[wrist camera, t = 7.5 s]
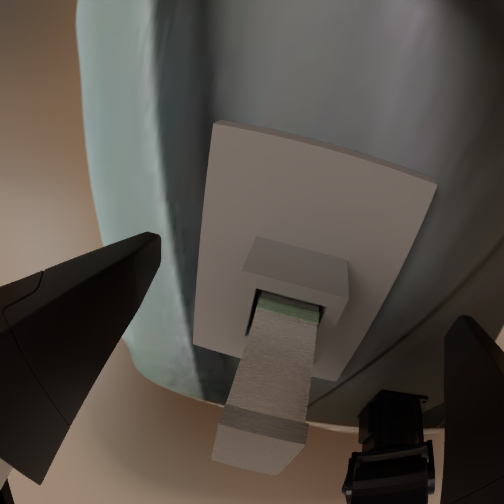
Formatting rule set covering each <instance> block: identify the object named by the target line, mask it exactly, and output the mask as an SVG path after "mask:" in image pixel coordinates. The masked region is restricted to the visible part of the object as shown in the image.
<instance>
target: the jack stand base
mask: <svg viewBox="0 0 504 504" xmlns="http://www.w3.org/2000/svg"><path fill="white" fill-rule="evenodd" d="M436 188H437V184H436V182H435V181H434V180H433V179H432V178H431V177H430V176H427V175H424V174H422V173H419V172H416V171H413V170H411V169H408V168H405V167H402V166H399V165H396V164H393V163H391V162H388V161H385V160H381V159H378V158H375V157H372V156H369V155H366V154H363V153H359V152H356V151H353V150H349V149H346V148H342V147H339V146H335V145H332V144H328V143H324V142H321V141H317V140H313V139H309V138H305V137H301V136H297V135H293V134H289V133H284V132H280V131H276V130H271V129H267V128H262V127H257V126H252V125H247V124H242V123H237V122H231V121H226V120H219V121H217V122H215V123H213V130H212V138H211V146H210V154H209V162H208V170H207V179H206V188H205V197H204V206H203V216H202V226H201V237H200V248H199V260H198V272H197V286H196V300H195V315H194V332H193V344H195V345H198V346H201V347H204V348H208V349H211V350H214V351H217V352H221V353H224V354H227V355H231V356H234V357H238V358H241V357H242V354H243V351H244V348H245V345H246V342H247V339H248V335H249V332H250V329H251V326H252V323H253V319H254V315H255V311H256V307H257V304H258V301H259V298H260V296H261V294H262V291H263V292H267V293H271V294H274V295H278V296H282V297H285V298H289V299H293V300H297V301H301V302H305V303H308V304H312V305H316V306H319V322H318V325H317V331H316V341H315V350H314V359H313V367H312V375H311V376H312V377H316V378H321V379H326V380H330V381H335V382H336V381H337V379H338V378H339V376H340V375H341V373H342V372H343V370H344V369H345V367H346V365H347V364H348V362H349V361H350V359H351V358H352V356H353V354H354V353H355V351H356V349H357V348H358V346H359V344H360V343H361V341H362V339H363V338H364V336H365V334H366V333H367V331H368V329H369V327H370V326H371V324H372V322H373V320H374V319H375V317H376V315H377V313H378V312H379V310H380V308H381V306H382V304H383V302H384V301H385V299H386V297H387V295H388V293H389V291H390V289H391V287H392V285H393V283H394V281H395V279H396V278H397V276H398V274H399V272H400V270H401V267H402V265H403V263H404V261H405V259H406V257H407V255H408V253H409V251H410V249H411V247H412V244H413V242H414V240H415V238H416V236H417V233H418V231H419V229H420V227H421V224H422V222H423V220H424V217H425V215H426V213H427V210H428V208H429V205H430V203H431V200H432V198H433V195H434V193H435V190H436Z"/></svg>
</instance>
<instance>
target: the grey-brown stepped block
mask: <svg viewBox="0 0 504 504" xmlns="http://www.w3.org/2000/svg"><path fill="white" fill-rule="evenodd" d="M318 322H319V306H316V305H312V304H308V303H305V302H301V301H297V300H293V299H289V298H285V297H282V296H278V295H274V294H271V293H267V292H263V291H262V294H261V296H260V298H259V301H258V304H257V307H256V311H255V315H254V319H253V323H252V326H251V329H250V332H249V335H248V339H247V342H246V345H245V348H244V351H243V354H242V357H241V360H240V363H239V366H238V369H237V372H236V376H235V379H234V382H233V385H232V388H231V391H230V394H229V397H228V400H227V403H225V406H224V409H223V412H222V415H221V418H220V421H219V424H218V429H217V434H216V438H215V443H214V448H213V453H212V458H211V460H214V461H217V462H220V463H224V464H228V465H231V466H235V467H239V468H243V469H247V470H251V471H255V472H260V473H264V474H269V475H274V476H277V475H278V474H279V473H280V472H281V471H282V470H283V469H284V468H285V467H286V466H287V465H288V464H289V463H290V462H291V460H292V459H293V458H294V457H295V456H296V455H297V454H298V452H300V451H301V449H302V448H303V447H304V446H305V445H306V439H307V433H308V426H309V424H307V423H305V418H306V412H307V405H308V398H309V390H310V383H311V375H312V367H313V359H314V350H315V341H316V331H317V325H318Z"/></svg>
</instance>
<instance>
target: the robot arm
mask: <svg viewBox="0 0 504 504" xmlns="http://www.w3.org/2000/svg"><path fill="white" fill-rule="evenodd" d="M160 263H161V237H160V236H159V235H158V234H155V233H151V232H144V233H141V234H138V235H135V236H133V237H130V238H127V239H124V240H121V241H119V242H116V243H113V244H110V245H108V246H105V247H102V248H100V249H97V250H94V251H92V252H89V253H86V254H84V255H81V256H78V257H76V258H73V259H70V260H68V261H65V262H63V263H60V264H58V265H55V266H53V267H50V268H48V269H45V271H40V272H38V273H35V274H33V275H30V276H28V277H25V278H23V279H20V280H18V281H15V282H12V283H9V284H6V285H3V286H1V287H0V504H14V501H13V497H12V494H11V490H10V487H9V483H8V479H7V477H8V475H9V473H10V472H11V470H12V468H15V469H16V470H17V471H19V472H20V473H22V474H23V475H25V476H26V477H28V478H29V479H31V480H32V481H34V482H35V483H37V484H38V485H41V483H42V482H43V480H44V478H45V475H46V474H47V472H48V469H49V467H50V465H51V463H52V461H53V459H54V457H55V455H56V453H57V451H58V450H59V448H60V446H61V443H62V441H63V440H64V438H65V436H66V434H67V432H68V430H69V428H70V427H69V426H71V424H72V422H73V420H74V419H75V417H76V415H77V413H78V411H79V409H80V407H81V405H82V404H83V402H84V400H85V399H86V397H87V395H88V393H89V391H90V390H91V388H92V386H93V384H94V383H95V381H96V379H97V377H98V375H99V374H100V372H101V370H102V368H103V367H104V365H105V364H106V362H107V360H108V358H109V357H110V355H111V353H112V352H113V350H114V348H115V347H116V345H117V343H118V342H119V340H120V338H121V337H122V335H123V333H124V332H125V330H126V329H127V327H128V325H129V324H130V322H131V320H132V319H133V317H134V316H135V314H136V312H137V311H138V309H139V307H140V305H141V303H142V301H143V299H144V297H145V295H146V293H147V291H148V289H149V287H150V285H151V283H152V280H153V278H154V276H155V274H156V272H157V270H158V268H159V266H160ZM427 403H428V397H424V396H416V395H409V394H402V393H395V392H389V391H380V392H379V393H378V394H377V395H376V396H375V397H374V399H373V400H372V401H371V402H370V403H369V404H368V405H367V406H366V407H365V408H364V409H363V411H362V412H361V413H360V414H359V415H358V418H357V420H358V421H359V440H358V442H359V444H362V452H352V457H351V458H349V464H348V472H347V475H346V478H345V481H344V484H343V487H342V493H343V494H344V495H345V496H346V501H347V504H428V495H431V494H434V490H435V468H434V456H433V447H432V440H428V441H427V442H424V435H423V422H422V412H421V408H422V407H424V406H425V405H426V404H427ZM444 405H445V442H444V465H443V479H442V491H441V500H440V504H504V352H503V351H502V349H501V348H500V347H499V346H498V345H497V344H496V343H495V342H494V340H493V339H492V338H491V337H490V336H489V335H488V334H487V333H486V332H485V330H484V329H483V328H482V327H481V326H480V325H479V324H478V323H477V322H476V321H475V320H474V319H473V318H472V317H471V316H467V315H460V316H458V317H457V319H456V320H455V322H454V323H453V325H452V326H451V327H450V329H449V330H448V332H447V333H446V336H445V340H444Z"/></svg>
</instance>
